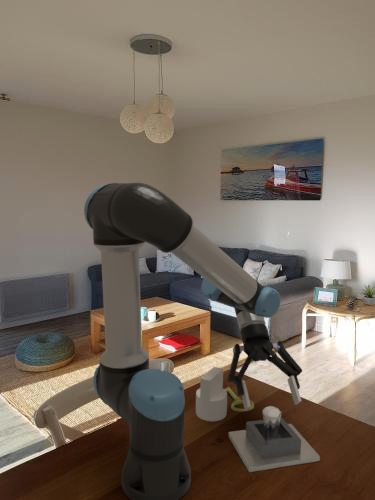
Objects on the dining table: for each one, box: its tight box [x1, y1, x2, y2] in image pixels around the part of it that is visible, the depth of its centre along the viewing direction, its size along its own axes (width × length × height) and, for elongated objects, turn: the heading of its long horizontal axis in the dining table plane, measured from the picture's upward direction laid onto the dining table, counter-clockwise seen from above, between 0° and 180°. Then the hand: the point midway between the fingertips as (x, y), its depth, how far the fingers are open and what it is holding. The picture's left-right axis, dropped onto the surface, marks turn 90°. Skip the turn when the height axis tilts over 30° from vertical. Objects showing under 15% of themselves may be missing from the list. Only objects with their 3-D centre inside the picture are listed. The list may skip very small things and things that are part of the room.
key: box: [223, 386, 255, 413], centre depth 121 cm, size 7×12×2 cm, turn 40°
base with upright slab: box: [195, 366, 228, 422], centre depth 115 cm, size 9×9×12 cm
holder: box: [228, 416, 321, 473], centre depth 99 cm, size 18×14×5 cm
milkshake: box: [262, 405, 283, 441], centre depth 99 cm, size 4×5×10 cm
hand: (273, 405), depth 99 cm, fingers open, 13 cm apart
